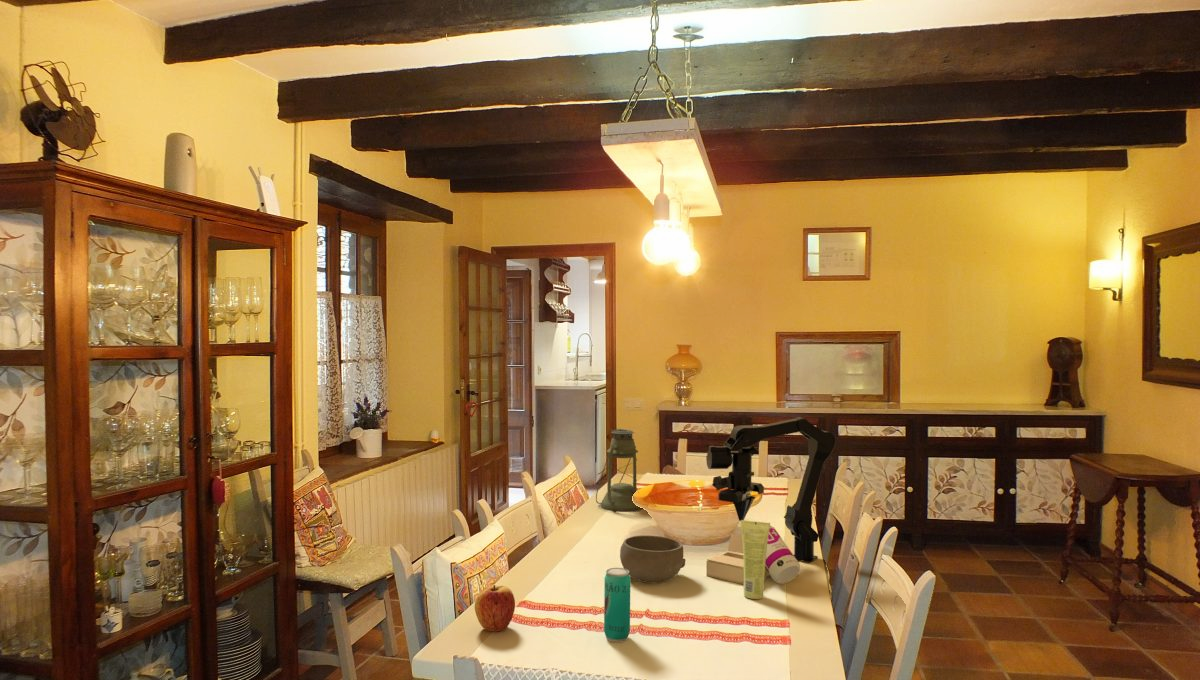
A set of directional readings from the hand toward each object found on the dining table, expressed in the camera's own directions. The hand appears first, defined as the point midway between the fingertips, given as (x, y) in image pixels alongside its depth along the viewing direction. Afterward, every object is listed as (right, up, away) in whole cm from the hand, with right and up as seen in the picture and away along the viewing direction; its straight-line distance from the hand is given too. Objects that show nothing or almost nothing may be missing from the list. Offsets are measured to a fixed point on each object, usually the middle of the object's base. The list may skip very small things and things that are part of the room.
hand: (741, 520), depth 228 cm
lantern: (-34, -11, +70) cm, 78 cm away
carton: (-3, -12, -14) cm, 19 cm away
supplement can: (+8, -9, -24) cm, 27 cm away
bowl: (-28, -12, -17) cm, 35 cm away
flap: (+1, -5, -8) cm, 10 cm away
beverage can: (-38, -13, -59) cm, 71 cm away
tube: (-2, -13, -31) cm, 33 cm away
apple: (-66, -12, -54) cm, 86 cm away
